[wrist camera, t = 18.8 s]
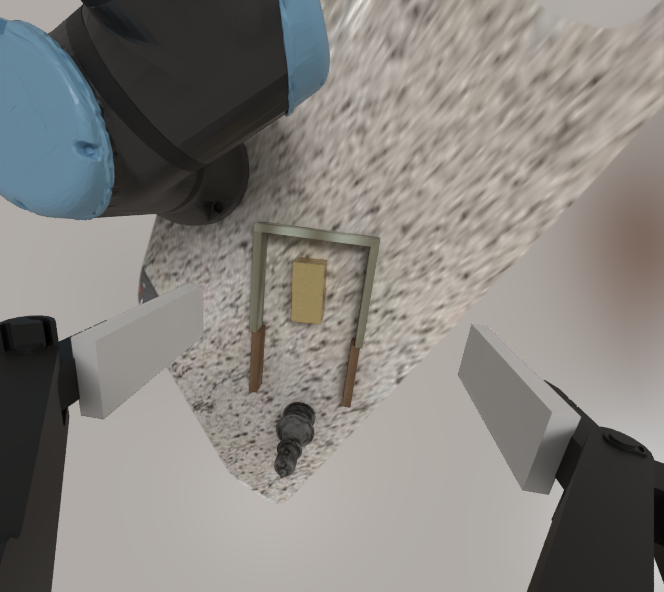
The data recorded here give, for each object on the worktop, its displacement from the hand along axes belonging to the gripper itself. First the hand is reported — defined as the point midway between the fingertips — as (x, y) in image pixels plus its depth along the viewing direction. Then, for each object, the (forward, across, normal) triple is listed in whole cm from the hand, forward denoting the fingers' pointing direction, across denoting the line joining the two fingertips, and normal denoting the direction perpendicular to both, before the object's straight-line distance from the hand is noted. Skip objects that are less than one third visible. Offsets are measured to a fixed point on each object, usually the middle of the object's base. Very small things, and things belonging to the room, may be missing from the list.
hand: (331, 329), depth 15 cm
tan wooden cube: (+29, -5, -8) cm, 30 cm away
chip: (+29, -5, -4) cm, 29 cm away
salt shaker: (+29, -4, -28) cm, 40 cm away
